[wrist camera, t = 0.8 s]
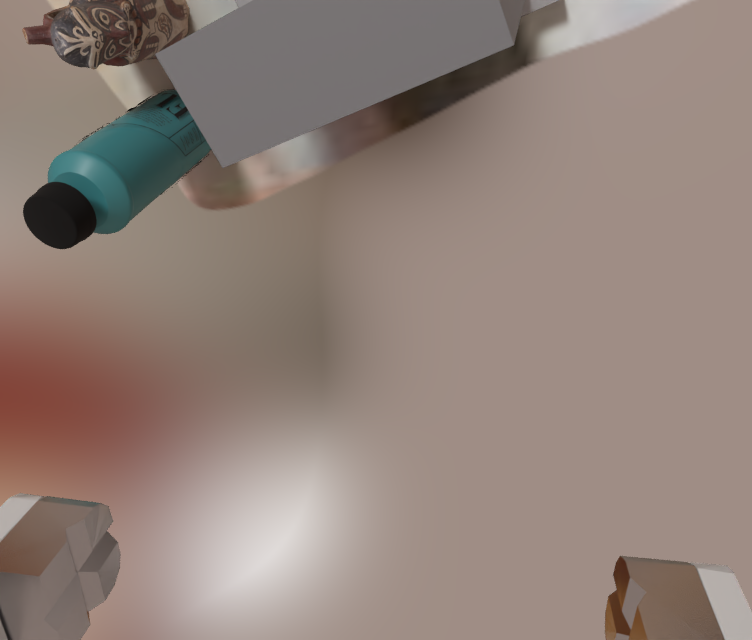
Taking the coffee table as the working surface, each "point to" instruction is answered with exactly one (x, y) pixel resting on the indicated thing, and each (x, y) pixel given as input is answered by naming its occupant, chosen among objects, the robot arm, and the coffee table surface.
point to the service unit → (324, 61)
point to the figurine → (111, 30)
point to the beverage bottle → (116, 172)
